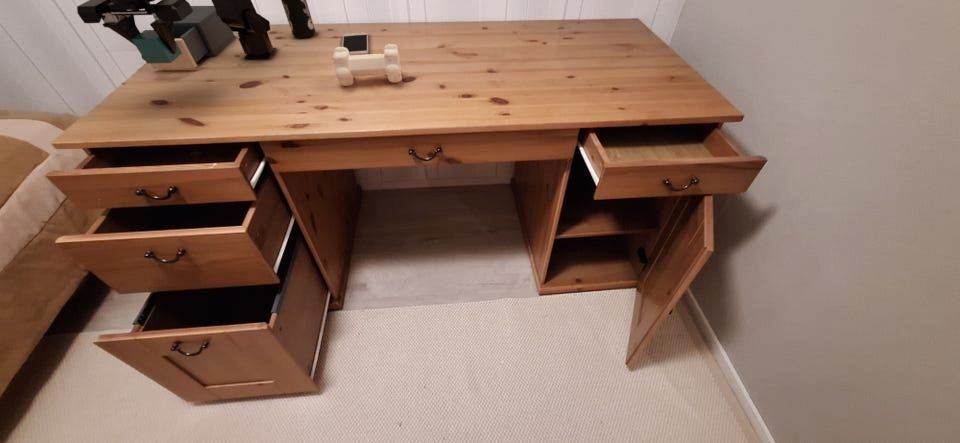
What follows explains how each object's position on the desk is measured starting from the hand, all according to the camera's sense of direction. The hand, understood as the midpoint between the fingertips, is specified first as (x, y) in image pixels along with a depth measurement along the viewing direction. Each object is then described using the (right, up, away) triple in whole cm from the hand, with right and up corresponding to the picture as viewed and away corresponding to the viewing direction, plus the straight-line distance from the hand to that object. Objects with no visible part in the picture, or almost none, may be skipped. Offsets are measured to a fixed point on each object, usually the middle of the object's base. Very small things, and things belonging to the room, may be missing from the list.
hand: (162, 53), depth 81 cm
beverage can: (+15, +20, +33) cm, 42 cm away
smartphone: (+33, +14, +27) cm, 45 cm away
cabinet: (-10, +14, +27) cm, 32 cm away
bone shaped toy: (+42, -2, +13) cm, 44 cm away
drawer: (-10, +6, +18) cm, 21 cm away
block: (0, -1, +1) cm, 1 cm away
